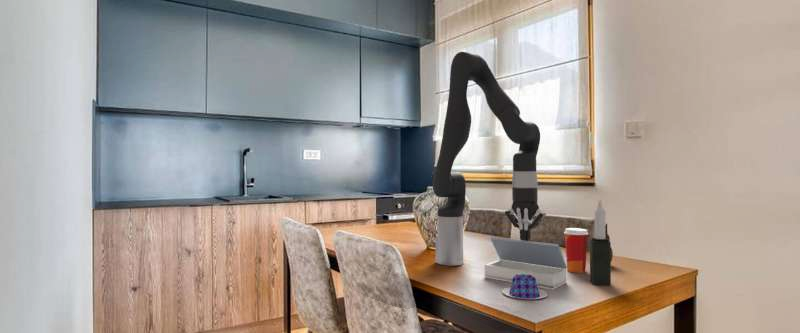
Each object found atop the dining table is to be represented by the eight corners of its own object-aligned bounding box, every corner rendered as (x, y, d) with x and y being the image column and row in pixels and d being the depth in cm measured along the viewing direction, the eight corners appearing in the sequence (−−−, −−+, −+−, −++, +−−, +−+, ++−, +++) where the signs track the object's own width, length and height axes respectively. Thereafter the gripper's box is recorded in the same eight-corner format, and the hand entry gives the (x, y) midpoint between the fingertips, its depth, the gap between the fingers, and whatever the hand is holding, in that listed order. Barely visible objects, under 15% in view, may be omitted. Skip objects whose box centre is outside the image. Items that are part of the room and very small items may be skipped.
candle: (611, 285, 130) (611, 200, 130) (593, 285, 131) (592, 200, 131) (607, 281, 135) (606, 199, 135) (589, 280, 136) (588, 199, 136)
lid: (490, 238, 144) (491, 236, 144) (500, 259, 148) (501, 257, 149) (557, 246, 129) (558, 244, 130) (566, 269, 134) (566, 267, 134)
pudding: (541, 289, 128) (541, 271, 128) (552, 302, 116) (552, 282, 116) (499, 288, 129) (499, 270, 129) (506, 301, 117) (506, 281, 117)
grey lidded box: (484, 277, 141) (484, 264, 141) (500, 271, 148) (500, 259, 148) (552, 289, 126) (552, 275, 126) (566, 282, 134) (566, 269, 134)
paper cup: (577, 267, 154) (577, 227, 154) (594, 272, 146) (593, 230, 146) (558, 269, 151) (558, 228, 151) (574, 274, 144) (574, 231, 144)
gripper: (499, 186, 139) (500, 241, 139) (540, 187, 130) (540, 246, 131) (510, 185, 145) (511, 238, 145) (550, 186, 136) (551, 242, 136)
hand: (525, 241), depth 138 cm, fingers closed
